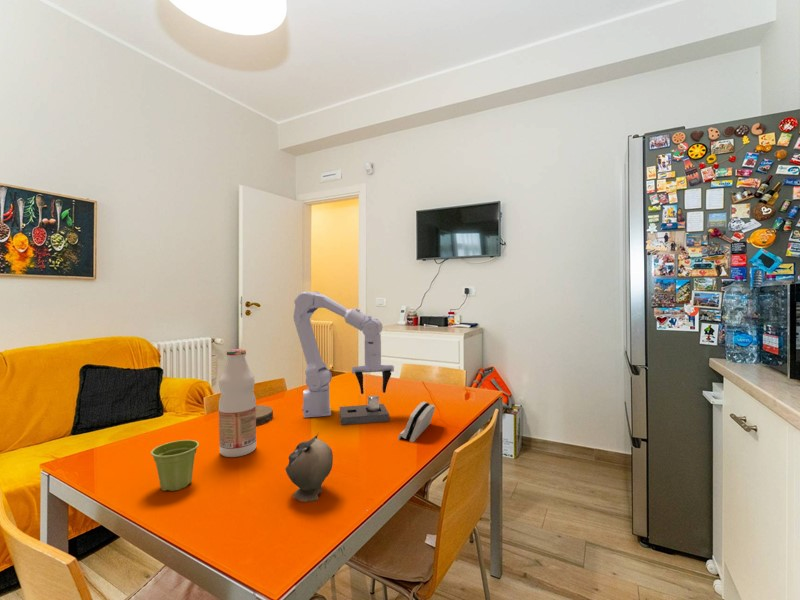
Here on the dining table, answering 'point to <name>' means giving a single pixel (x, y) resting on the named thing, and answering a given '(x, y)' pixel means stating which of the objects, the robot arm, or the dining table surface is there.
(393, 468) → the dining table surface
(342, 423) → the fitting block
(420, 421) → the white black-striped wedge
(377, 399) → the cylinder
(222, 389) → the fruit juice
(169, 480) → the plant pot
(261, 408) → the grey round disc
